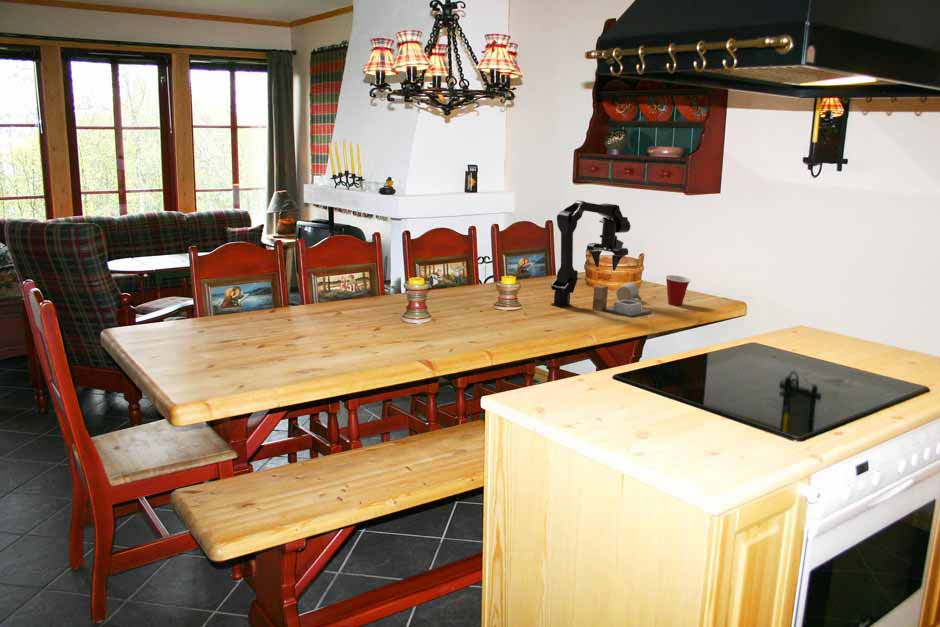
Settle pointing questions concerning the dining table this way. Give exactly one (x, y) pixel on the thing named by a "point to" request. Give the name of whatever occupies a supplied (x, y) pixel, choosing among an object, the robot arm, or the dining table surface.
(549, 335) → the dining table surface
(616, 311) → the metal square socket base
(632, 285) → the ceramic mug
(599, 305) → the walnut post
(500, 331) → the dining table surface
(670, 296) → the plastic cup
